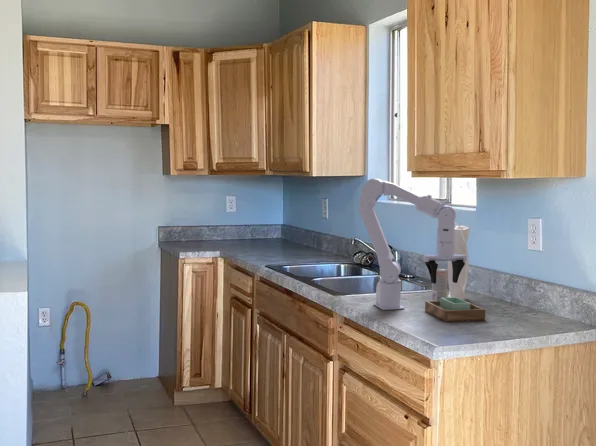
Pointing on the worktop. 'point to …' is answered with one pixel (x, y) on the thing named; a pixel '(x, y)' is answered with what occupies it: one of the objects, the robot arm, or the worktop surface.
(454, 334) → the worktop surface
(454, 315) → the big crate
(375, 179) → the robot arm
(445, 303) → the small crate
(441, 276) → the energy drink
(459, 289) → the twisted white candle
